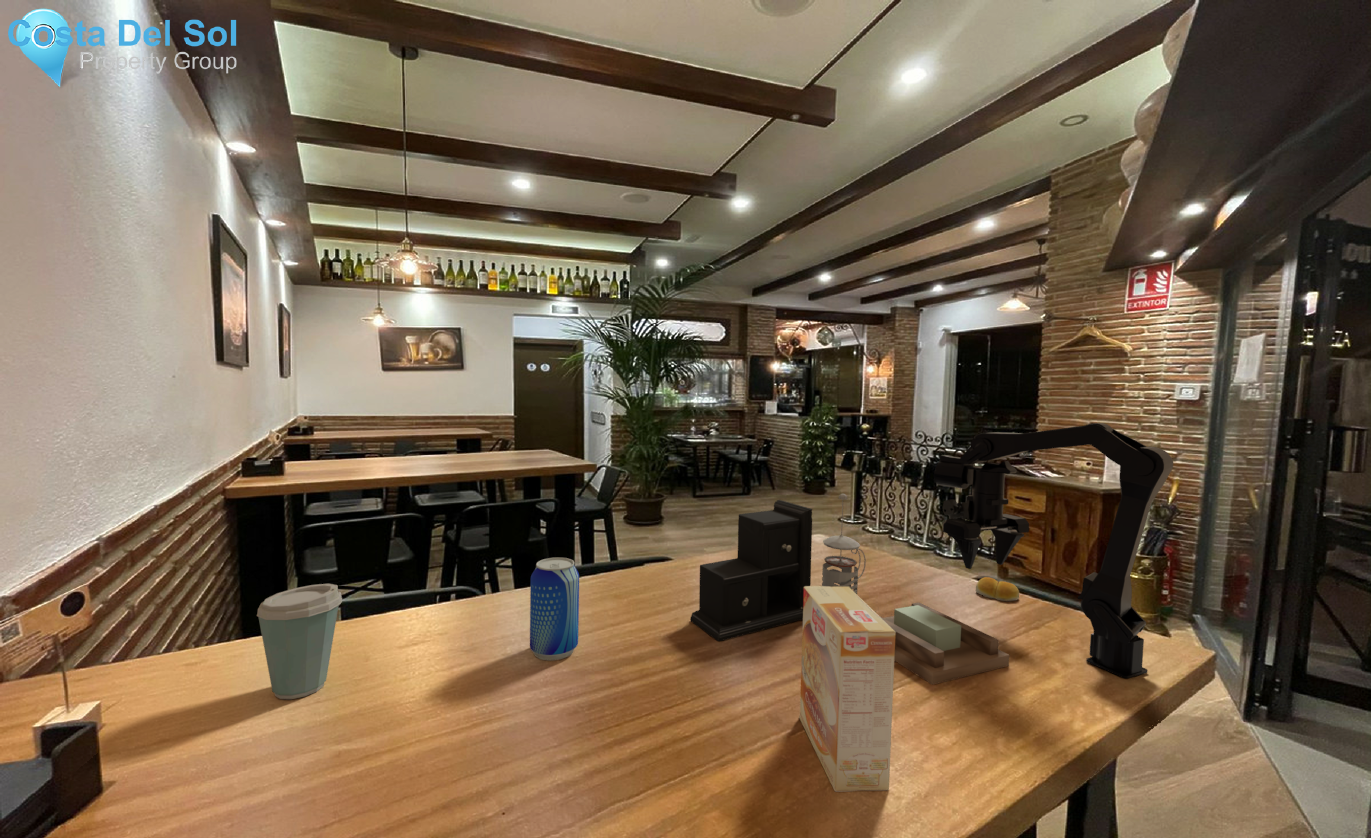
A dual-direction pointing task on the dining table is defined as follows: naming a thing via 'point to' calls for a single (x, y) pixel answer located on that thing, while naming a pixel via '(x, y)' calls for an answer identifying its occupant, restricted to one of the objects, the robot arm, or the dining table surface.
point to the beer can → (554, 609)
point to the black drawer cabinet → (759, 575)
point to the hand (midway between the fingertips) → (984, 566)
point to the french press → (841, 561)
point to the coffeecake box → (847, 687)
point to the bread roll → (997, 589)
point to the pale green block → (929, 626)
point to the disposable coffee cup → (299, 637)
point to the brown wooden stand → (947, 653)
